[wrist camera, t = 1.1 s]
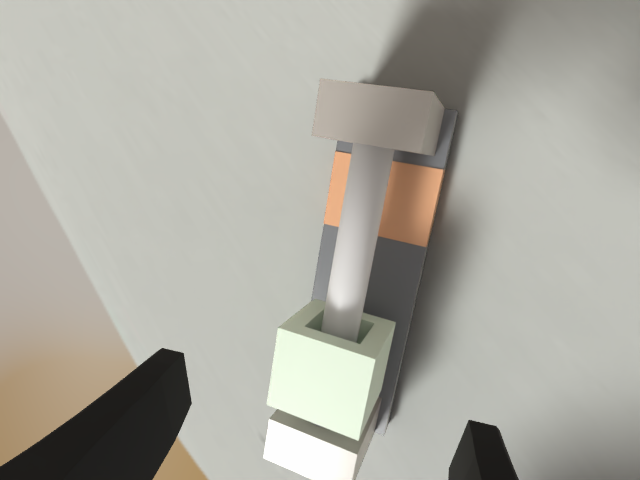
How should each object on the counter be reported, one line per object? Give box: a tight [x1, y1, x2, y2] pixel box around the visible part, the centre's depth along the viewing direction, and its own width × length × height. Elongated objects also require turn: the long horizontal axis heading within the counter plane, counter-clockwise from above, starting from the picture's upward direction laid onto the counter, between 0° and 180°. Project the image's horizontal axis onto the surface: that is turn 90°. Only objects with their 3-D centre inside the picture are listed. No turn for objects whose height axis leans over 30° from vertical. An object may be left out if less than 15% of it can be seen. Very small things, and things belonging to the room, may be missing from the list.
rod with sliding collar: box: [263, 79, 458, 480], centre depth 19 cm, size 16×5×6 cm, turn 170°
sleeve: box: [267, 299, 396, 441], centre depth 18 cm, size 4×4×4 cm
